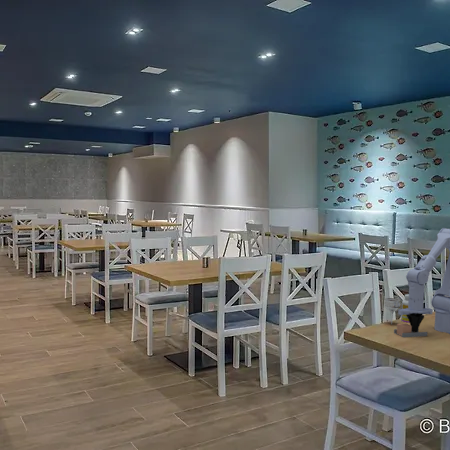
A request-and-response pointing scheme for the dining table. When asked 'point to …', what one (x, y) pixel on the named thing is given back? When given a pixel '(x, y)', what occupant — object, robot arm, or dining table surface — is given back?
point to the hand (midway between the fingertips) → (414, 331)
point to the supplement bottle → (404, 306)
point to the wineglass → (392, 305)
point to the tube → (412, 334)
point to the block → (403, 328)
